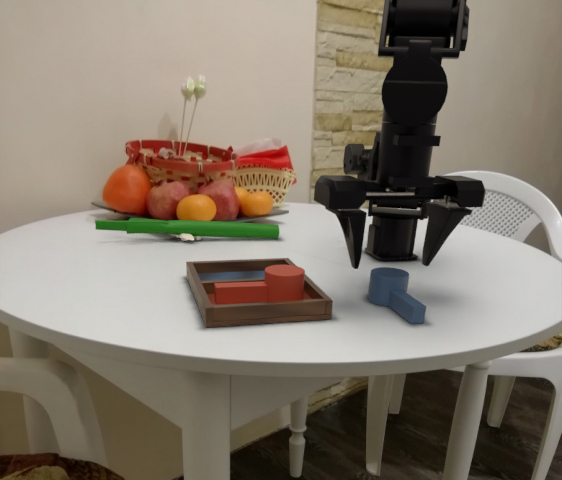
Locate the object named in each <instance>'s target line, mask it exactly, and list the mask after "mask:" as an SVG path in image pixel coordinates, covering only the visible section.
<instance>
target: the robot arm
mask: <svg viewBox="0 0 562 480" xmlns="http://www.w3.org/2000/svg"><path fill="white" fill-rule="evenodd" d="M467 1H468V0H384V4H383V10H382V19H381V27H380V33H379V40H378V49H377V57H378V58H387V59H388V58H389V59H392V65H391V67H390V69H389V70H388V71H387V73H386V75H385V77H384V79H383V82H382V85H381V102H382V106H383V108H382V118H381V126H380V127H381V128H380V131H376V132H375V136H374V138H373V144H372V147H371V148H365V145H364V143H348V144H346V145H345V146H344V153H343V160H342V164H343V165H342V167H343V173H344V174H343V175H342V174H341V175H338V174H336V175H335V174H333V175H332V174H329V175H328V174H325V175H324V174H323V175H322V174H321V175H320V176H319V177H318V178H317V180H316V182H315V183H314V190H313V191H314V193H313V201H314V202H316V203H318V204H320V205H322V206H323V207H324V209H325V210H326V211H328V212H330V213H332V214H334V215H335V216H336V218H337V220H338V222H339V224H340V228H341V230H342V233H343V236H344V240H345V245H346V248H347V253H348V256H349V257H348V258H349V261H350V264H351V265H350V266H351V267H352V269H354V270H358V269H359V266H360V264H361V260H362V253H363V245H364V238H365V229H366V222H367V217H372V221H371V223H370V224H369V225H368V229H367V231H368V232H367V241H366V247H365V248H364V252H366V253H367V254H369V255H370V256H372V257H374V258H375V259H376V260H379V261H407V260H418V259H419V256H418V255H417V254H415V253H414V250H415V244H416V236H417V229H418V223H419V222H418V221H424V220H425V219H426V220H427V224H426V229H425V235H424V239H423V247H422V253H421V265H423V266H424V267H428V266H430V264H431V263H432V261H433V260H434V259H435V257H436V256H437V254H438V253H439V252H440V250H441V248H442V247H443V245H444V244H445V243H446V241H447V239H448V238H449V236H450V235H451V234H452V233H453V232H454V230H455V229H456V228H457V226H458V225H459V224H460V223H461V221H463V219H464V218H465V217H466V216H471V215H472V214H473V209H470V208H483V207H484V204H485V198H486V193H487V190H486V188H485V185H484V183H483V180H480V179H478V178H477V179H476V178H473V177H468V176H465V175H435V176H431V175H430V171H431V170H430V169H431V163H432V162H431V161H432V157H433V156H432V155H433V148H434V147H440V145H441V138H442V136H441V135H437V134H436V129H437V122H438V114H439V113H440V111H441V110H442V108H443V106H444V104H445V103H446V100H447V96H448V92H449V91H448V90H449V84H448V77H447V74H446V72H445V69H444V67H443V66H442V64H443V63H442V61H443V60H458V59H460V54H461V52H466V48H467V43H468V37H469V25H470V24H469V23H470V7H469V6H468V5H467V3H468V2H467ZM387 39H388V40H387ZM451 43H452V46H451ZM386 45H387V46H386ZM355 175H356V177H355ZM366 201H368V210H367V212H366V211H365V210H362V209H361V207H362V206H363V205H364V204H365V203H366Z"/></svg>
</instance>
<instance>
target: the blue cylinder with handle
mask: <svg viewBox="0 0 562 480" xmlns="http://www.w3.org/2000/svg"><path fill="white" fill-rule="evenodd" d="M409 280H410V273H409V271H407V270H404V269H401V268H397V267H392V266H391V267H390V266H379V267H374V268H372V269H371V270H370V275H369V284H368V293H367V294H368V295H367V301H369V302H370V303H372V304H375V305H378V306H383V307H388V308H390V309H391V310H393V312H395V313H396V314H398V315H399V316H400V317H401V318H402V319H404V320H405V321H407V322H408V323H409V324H411V325H412V324H413V325H414V324H415V325H416V324H424V323H425V316H426V310H427V306H426V305H425V304H424V303H422V302H420V300H418V299H417V298H415V297H413V296H412V295H411V294H409V293H408V288H409Z"/></svg>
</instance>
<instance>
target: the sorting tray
mask: <svg viewBox="0 0 562 480" xmlns="http://www.w3.org/2000/svg"><path fill="white" fill-rule="evenodd" d="M272 265H293V266H297V264H295V262H293V261H292V260H291V259H290V258H289V257H277V258H249V259H224V260H223V259H222V260H196V261H195V260H193V261H186V262H185V267H186V268H185V269H186V279H187V282H188V284H189V287H190V289H191V292H192V295H193V297H194V300H195V303H196V305H197V307H198V311H199V313H200V315H201V316H200V317H201V318H202V321H203V323H204V326H205V328H219V327H235V326H250V325H262V324H264V325H265V324H276V323H277V324H278V323H292V322H306V321H321V320H332V317H333V316H332V314H333V303H334V300H333V299H332V298H331V297H330V296H329V295H328V294H327V293H326V292H325V291H323V289H322V288H320V287H319V286H318V285H317V284H316V283H315V282H314V281H313V280H312V279H311V278H310V277H309V276H308V275H307V274H306V273H305V279H304V297H303V300H293V301H275V302H255V303H232V304H216V302H215V296H214V283H233V282H262V281H264V277H265V268H266V267H269V266H272Z"/></svg>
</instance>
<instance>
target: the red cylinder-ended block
mask: <svg viewBox="0 0 562 480" xmlns="http://www.w3.org/2000/svg"><path fill="white" fill-rule="evenodd" d="M305 271H306V270H305V269H304V268H302V267H300V266H297V265H296V266H293V265H272V266H269V267H266V268H265V277H264V281H262V282H233V283H214V296H215V302H216V304H232V303H255V302H275V301H293V300H303V297H304V279H305V274H306V272H305Z"/></svg>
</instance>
